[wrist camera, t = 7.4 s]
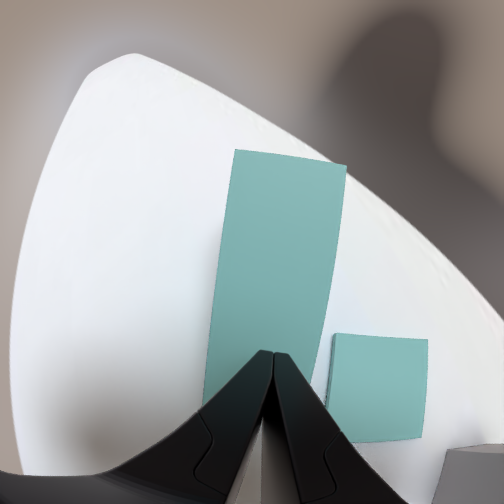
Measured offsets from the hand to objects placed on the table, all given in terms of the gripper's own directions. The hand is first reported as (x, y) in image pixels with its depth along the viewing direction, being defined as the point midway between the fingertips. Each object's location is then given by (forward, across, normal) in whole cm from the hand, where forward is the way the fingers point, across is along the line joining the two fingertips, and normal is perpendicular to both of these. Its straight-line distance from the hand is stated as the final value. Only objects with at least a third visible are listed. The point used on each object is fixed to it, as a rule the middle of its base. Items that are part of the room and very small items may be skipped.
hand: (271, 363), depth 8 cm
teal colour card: (+5, -7, +5) cm, 10 cm away
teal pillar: (+3, 0, +4) cm, 6 cm away
